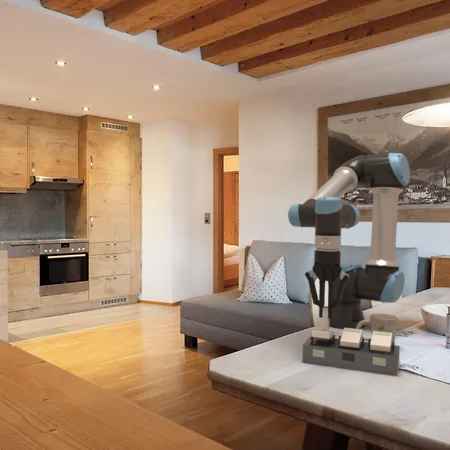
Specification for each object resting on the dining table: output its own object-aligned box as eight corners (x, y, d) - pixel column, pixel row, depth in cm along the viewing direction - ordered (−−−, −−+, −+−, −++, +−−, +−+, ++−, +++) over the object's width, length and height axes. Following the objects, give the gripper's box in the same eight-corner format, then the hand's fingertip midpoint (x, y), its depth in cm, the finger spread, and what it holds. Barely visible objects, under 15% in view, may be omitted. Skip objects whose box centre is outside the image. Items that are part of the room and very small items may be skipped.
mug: (399, 352, 141) (400, 319, 141) (356, 349, 144) (357, 317, 144) (394, 345, 150) (395, 314, 149) (354, 342, 152) (355, 312, 152)
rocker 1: (317, 335, 138) (317, 329, 138) (334, 337, 136) (334, 331, 136) (311, 336, 131) (311, 330, 131) (329, 338, 129) (329, 332, 129)
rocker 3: (373, 335, 132) (373, 330, 131) (392, 337, 130) (392, 332, 129) (370, 349, 125) (370, 343, 124) (390, 351, 123) (390, 346, 122)
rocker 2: (344, 332, 135) (344, 327, 134) (362, 334, 133) (362, 329, 133) (340, 345, 128) (340, 340, 127) (358, 348, 126) (358, 342, 125)
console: (311, 351, 140) (311, 328, 140) (399, 363, 130) (399, 338, 130) (302, 362, 130) (302, 337, 130) (397, 376, 120) (397, 348, 120)
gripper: (302, 249, 135) (300, 329, 136) (348, 252, 130) (346, 335, 131) (308, 247, 142) (306, 323, 143) (352, 249, 137) (350, 328, 138)
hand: (325, 328), depth 137 cm, fingers closed
